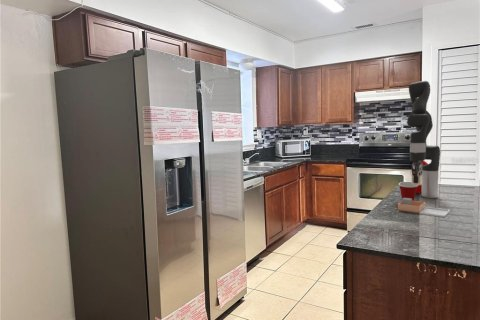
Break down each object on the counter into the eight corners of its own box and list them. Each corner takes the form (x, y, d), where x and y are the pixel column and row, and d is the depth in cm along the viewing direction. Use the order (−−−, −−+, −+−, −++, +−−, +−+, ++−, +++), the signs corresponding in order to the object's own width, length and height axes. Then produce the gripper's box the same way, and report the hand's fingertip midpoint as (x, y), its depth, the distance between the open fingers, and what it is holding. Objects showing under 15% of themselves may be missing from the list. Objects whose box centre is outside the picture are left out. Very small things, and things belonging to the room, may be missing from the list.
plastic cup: (397, 204, 196) (397, 184, 195) (398, 200, 206) (398, 181, 205) (418, 206, 191) (418, 185, 190) (418, 201, 201) (418, 182, 200)
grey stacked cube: (403, 206, 188) (404, 197, 188) (411, 207, 185) (412, 198, 185) (401, 207, 185) (401, 199, 185) (409, 208, 182) (409, 200, 182)
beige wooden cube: (413, 183, 183) (414, 174, 183) (422, 183, 181) (422, 174, 180) (411, 184, 180) (411, 175, 180) (420, 185, 177) (420, 176, 177)
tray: (426, 208, 185) (426, 206, 185) (450, 211, 177) (450, 209, 177) (419, 214, 175) (419, 212, 175) (444, 217, 167) (444, 215, 167)
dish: (404, 206, 192) (404, 199, 191) (425, 209, 184) (425, 202, 184) (397, 210, 183) (397, 203, 182) (419, 213, 176) (419, 206, 175)
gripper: (413, 150, 186) (413, 179, 188) (406, 152, 176) (405, 183, 178) (428, 150, 181) (427, 181, 183) (421, 152, 171) (421, 185, 173)
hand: (416, 182), depth 180 cm, fingers closed on beige wooden cube, 4 cm apart
